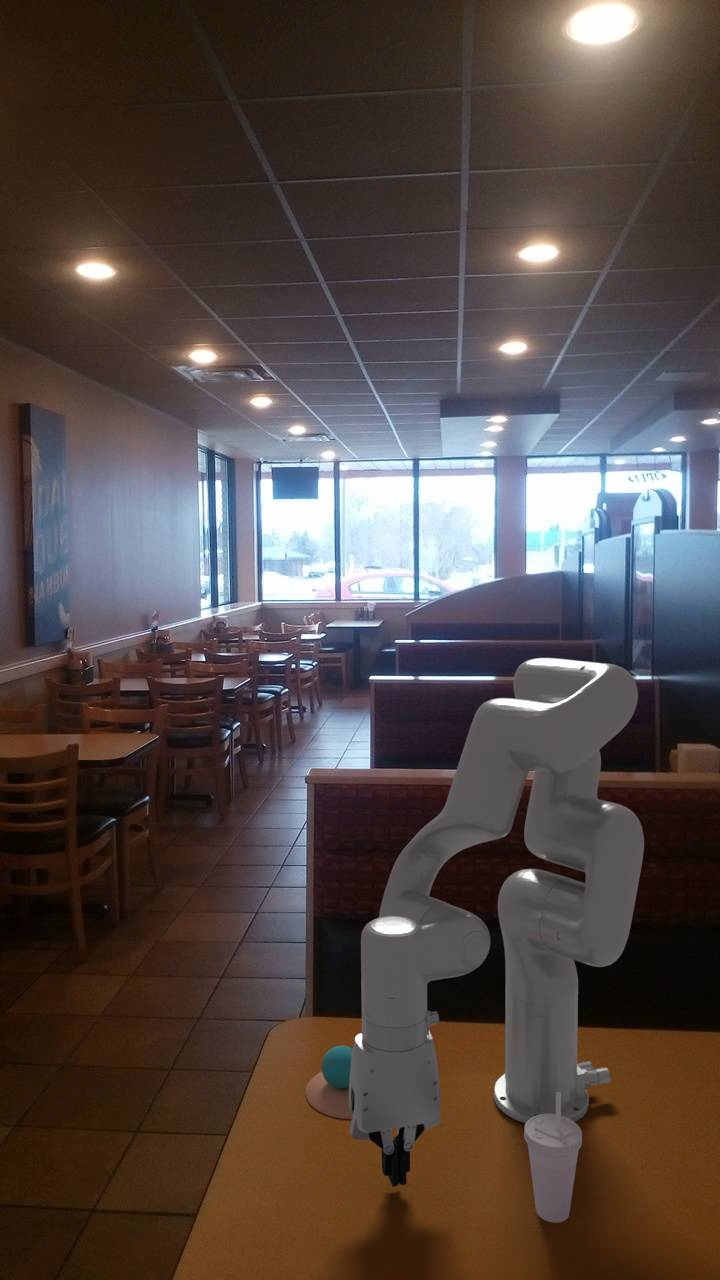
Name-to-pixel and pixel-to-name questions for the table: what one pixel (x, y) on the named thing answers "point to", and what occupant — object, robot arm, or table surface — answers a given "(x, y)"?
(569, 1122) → the smoothie
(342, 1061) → the ball
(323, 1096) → the pink flattened dome
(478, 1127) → the table surface
